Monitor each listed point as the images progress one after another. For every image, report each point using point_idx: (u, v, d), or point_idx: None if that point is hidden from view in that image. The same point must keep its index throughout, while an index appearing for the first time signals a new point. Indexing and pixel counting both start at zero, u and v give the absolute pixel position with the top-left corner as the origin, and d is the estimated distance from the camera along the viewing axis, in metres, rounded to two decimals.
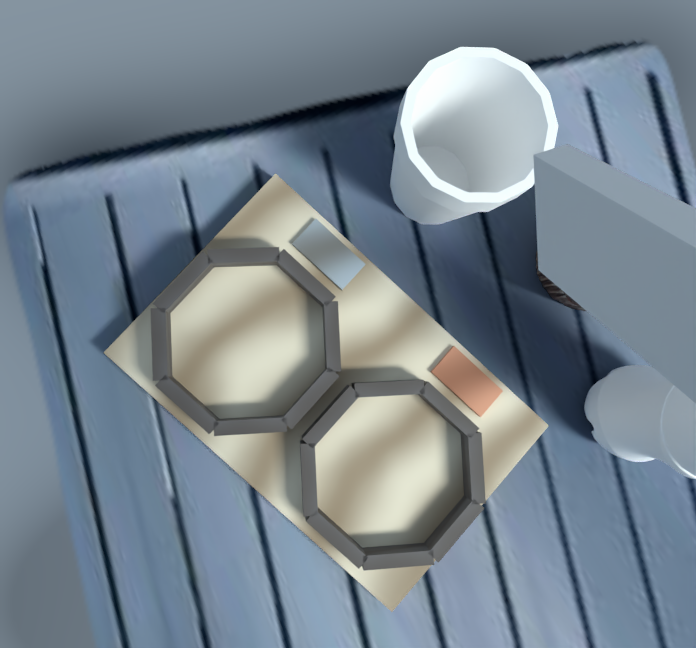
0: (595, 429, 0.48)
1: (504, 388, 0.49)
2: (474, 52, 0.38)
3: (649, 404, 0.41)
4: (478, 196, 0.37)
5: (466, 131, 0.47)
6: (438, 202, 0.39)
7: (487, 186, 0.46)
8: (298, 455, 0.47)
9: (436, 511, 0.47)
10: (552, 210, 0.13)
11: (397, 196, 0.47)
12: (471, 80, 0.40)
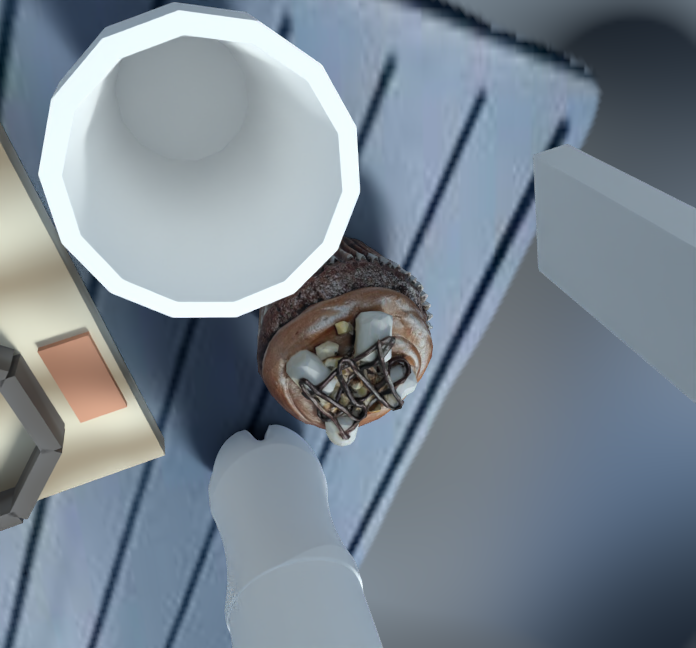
0: (209, 487, 0.39)
1: (132, 401, 0.36)
2: (278, 48, 0.18)
3: (251, 548, 0.33)
4: (140, 294, 0.20)
5: (260, 79, 0.26)
6: None
7: (239, 183, 0.28)
8: None
9: None
10: (552, 210, 0.13)
11: None
12: (270, 62, 0.21)
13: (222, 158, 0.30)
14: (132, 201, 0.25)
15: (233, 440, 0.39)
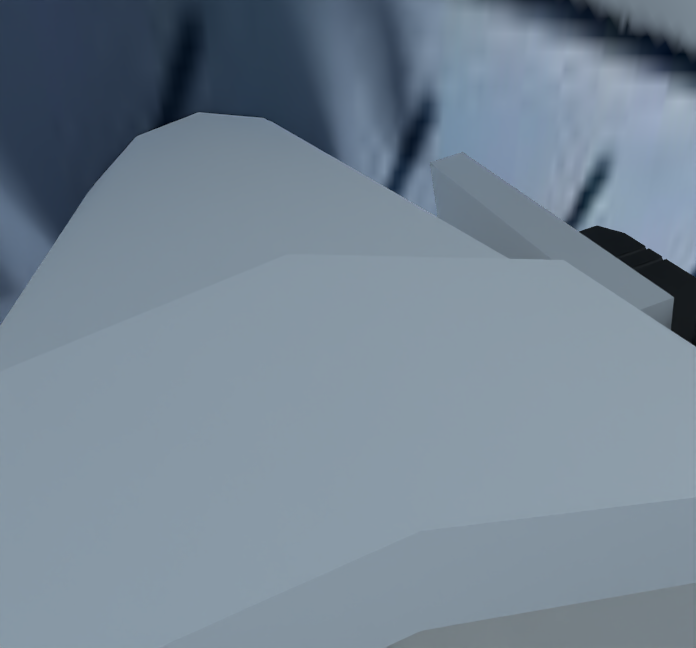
0: None
1: None
2: None
3: None
4: None
5: None
6: None
7: None
8: None
9: None
10: (448, 215, 0.14)
11: None
12: None
13: None
14: None
15: None
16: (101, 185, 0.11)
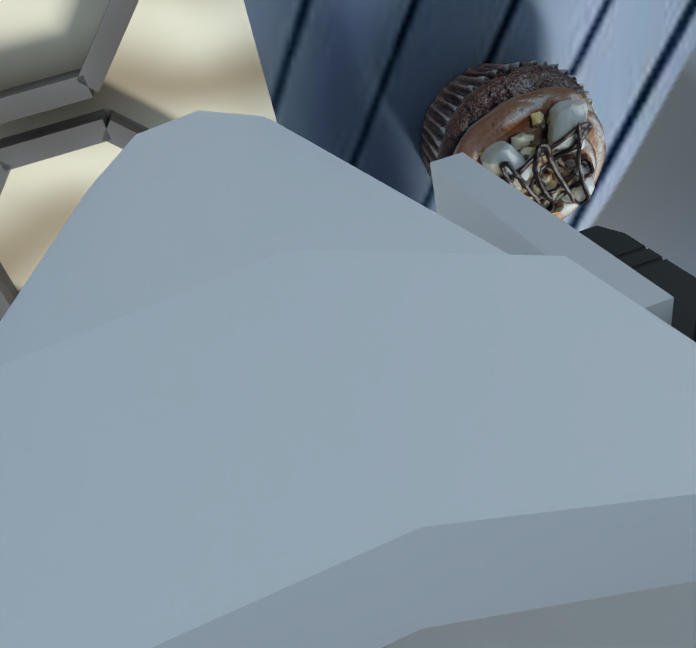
0: None
1: None
2: None
3: None
4: None
5: None
6: None
7: None
8: None
9: None
10: (448, 215, 0.14)
11: None
12: None
13: None
14: None
15: None
16: (100, 183, 0.11)
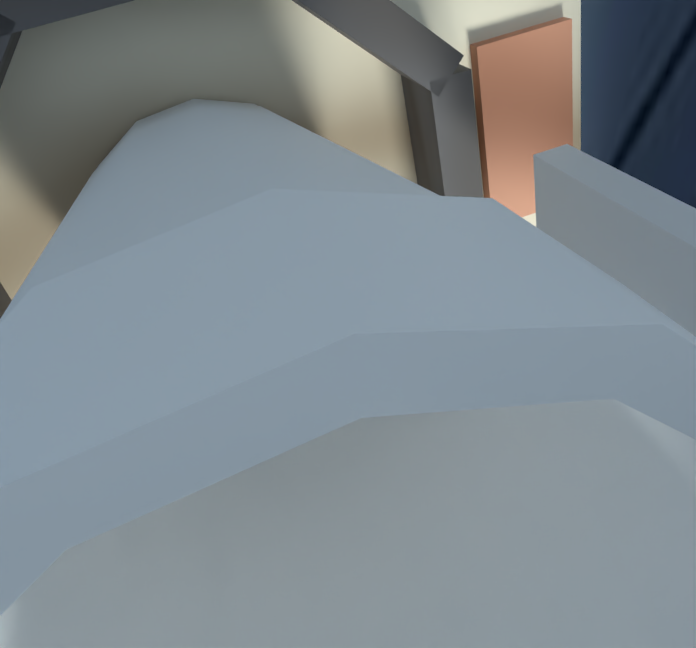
0: None
1: None
2: (695, 397, 0.05)
3: None
4: None
5: None
6: None
7: None
8: None
9: None
10: (552, 210, 0.13)
11: None
12: None
13: None
14: (132, 523, 0.11)
15: None
16: (107, 163, 0.12)
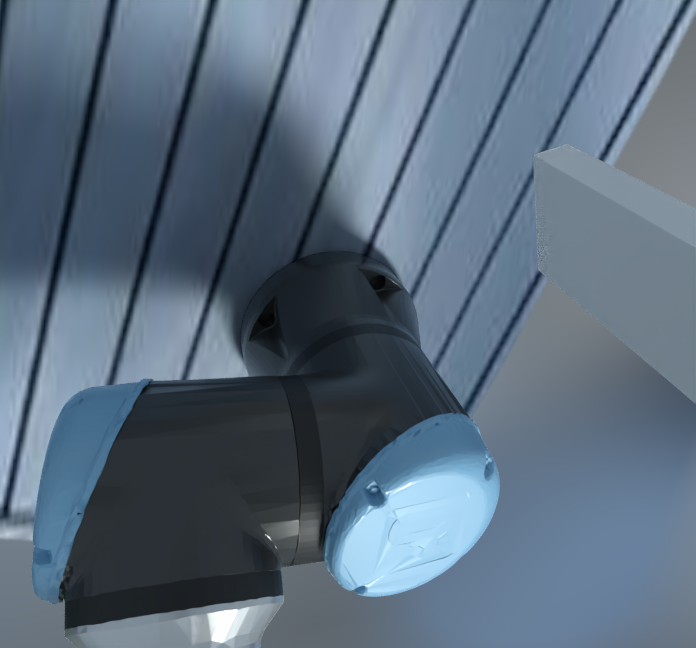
0: None
1: None
2: None
3: None
4: None
5: None
6: None
7: None
8: None
9: None
10: (552, 210, 0.13)
11: None
12: None
13: None
14: None
15: None
16: None
